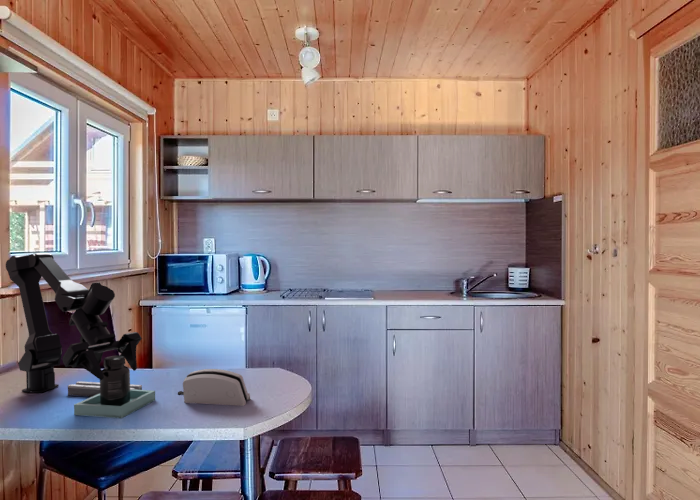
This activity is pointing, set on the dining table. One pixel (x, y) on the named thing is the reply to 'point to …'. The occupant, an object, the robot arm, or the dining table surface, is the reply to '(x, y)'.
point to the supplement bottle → (115, 382)
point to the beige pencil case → (215, 388)
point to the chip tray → (95, 409)
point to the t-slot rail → (90, 388)
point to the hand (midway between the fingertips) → (119, 374)
